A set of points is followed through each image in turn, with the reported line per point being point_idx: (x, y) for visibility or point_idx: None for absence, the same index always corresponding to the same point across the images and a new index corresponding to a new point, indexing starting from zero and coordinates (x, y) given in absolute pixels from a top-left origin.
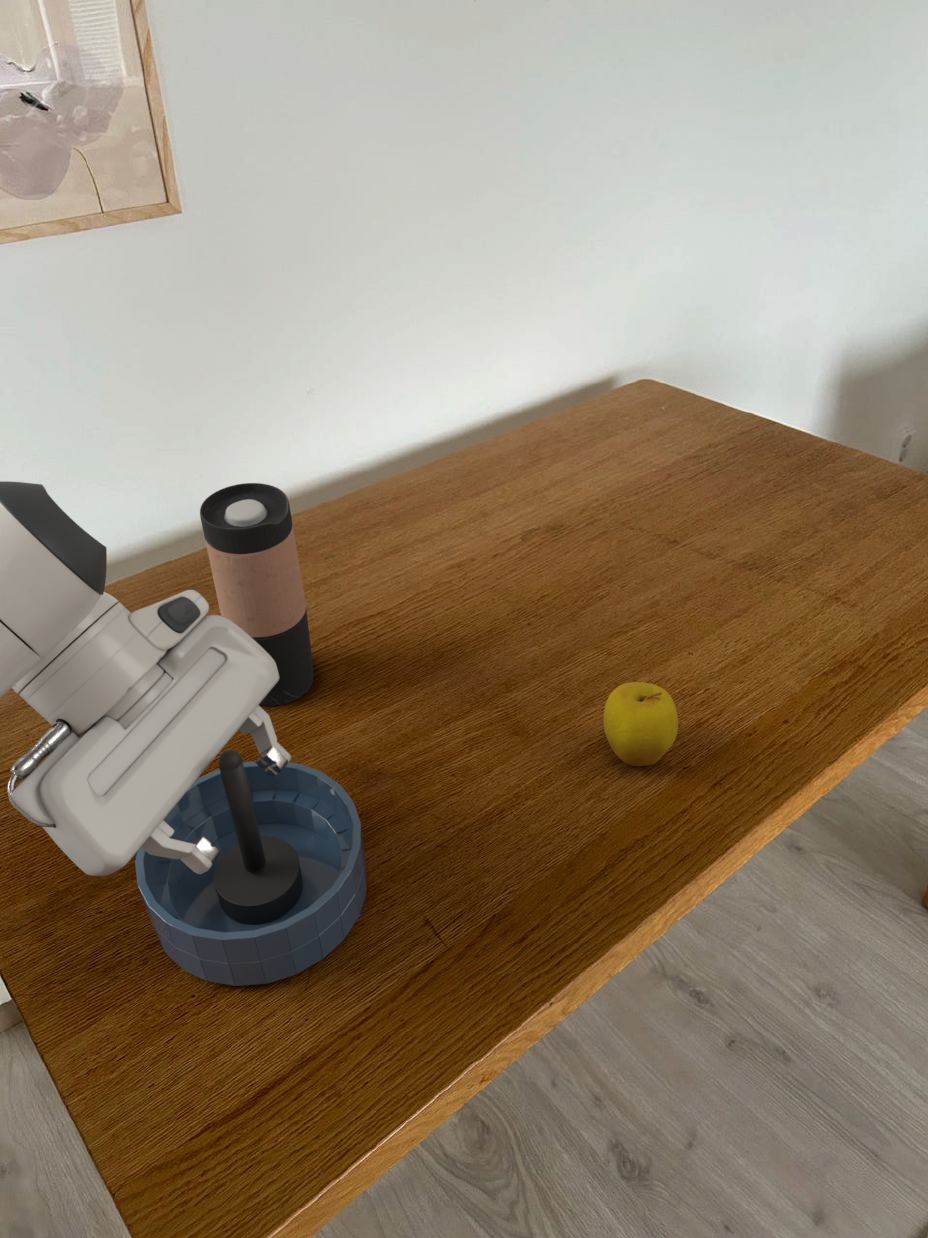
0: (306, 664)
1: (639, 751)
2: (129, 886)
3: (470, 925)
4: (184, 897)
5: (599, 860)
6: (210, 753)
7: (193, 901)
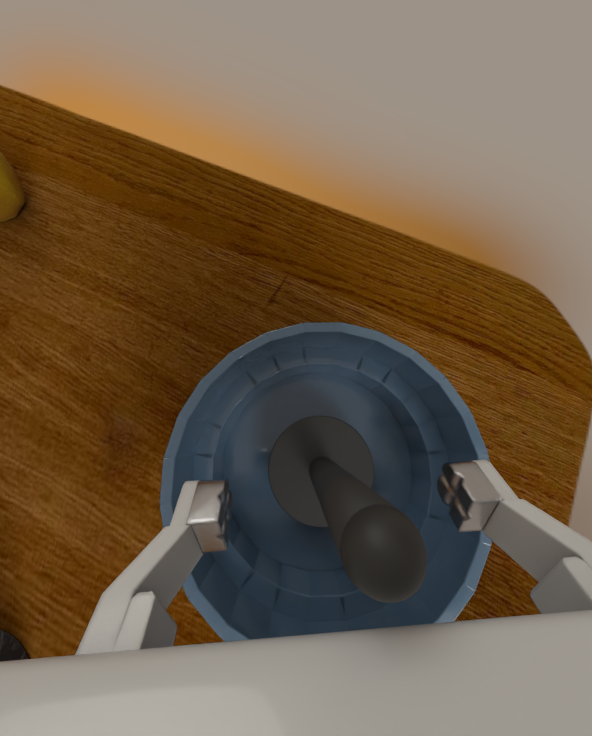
0: None
1: (2, 160)
2: None
3: (258, 267)
4: None
5: (149, 199)
6: (366, 657)
7: None
